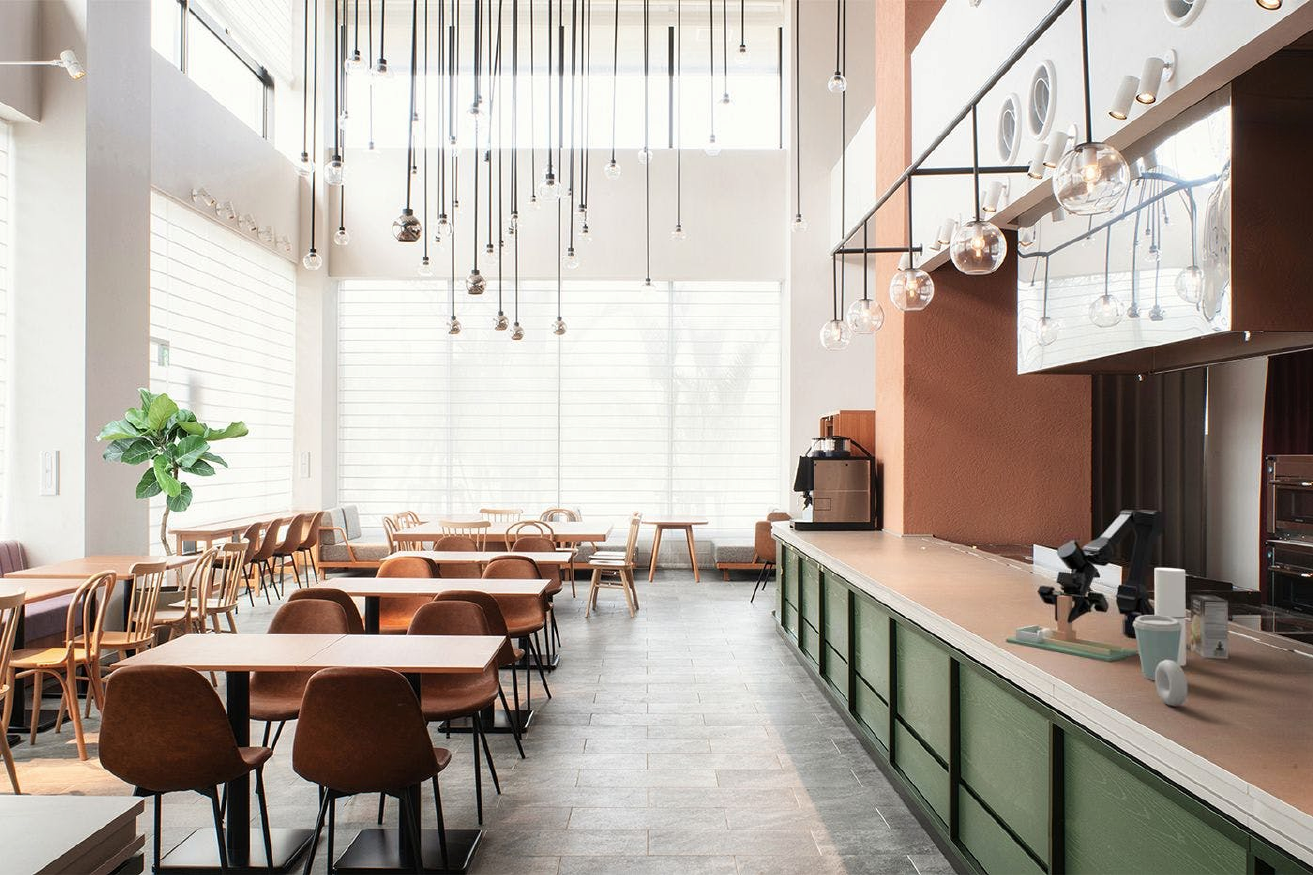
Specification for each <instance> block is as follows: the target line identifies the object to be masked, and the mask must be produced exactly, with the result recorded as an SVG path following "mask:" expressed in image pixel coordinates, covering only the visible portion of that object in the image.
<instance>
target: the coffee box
mask: <svg viewBox="0 0 1313 875" xmlns="http://www.w3.org/2000/svg"><path fill="white" fill-rule="evenodd" d="M1228 606H1229V601H1228V600H1226V599H1224V598H1221V597H1218V596H1217V595H1207V594H1205V595H1202V594H1190V650H1191V651H1192V652H1193V653H1195V654H1197V655H1198V656H1201V657H1202V658H1204V659H1221V660H1222V659H1223V660H1228V659H1229V649H1228V648H1229V638H1228V637H1229V636H1228V635H1229V634H1228V633H1229V631H1228V630H1229V629H1228V628H1229V620H1228V618H1229V613H1228V612H1229V607H1228Z"/></svg>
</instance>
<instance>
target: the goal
mask: <svg viewBox="0 0 1313 875" xmlns="http://www.w3.org/2000/svg"><path fill="white" fill-rule="evenodd" d="M1042 629H1049V630H1051V631H1052V633H1053V637H1052V638H1054V631H1056V630H1057V626H1056V627H1055V629H1053V628H1048V627H1043V626H1039V625H1038V624H1034V625H1027V626H1022V627H1018V628H1015V637H1016V639H1018V640H1023V641H1029V642H1034V643H1038V644H1043V631H1041V630H1042Z"/></svg>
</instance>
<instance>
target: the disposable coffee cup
mask: <svg viewBox="0 0 1313 875" xmlns="http://www.w3.org/2000/svg"><path fill="white" fill-rule="evenodd" d="M1133 626H1134V629H1135V634H1136V637H1135V638H1136V644H1137V647H1138V648H1137V649H1138V654H1139V658H1140V663H1141V664H1140V665H1141V669H1142V674H1143V675H1144V677H1145V678H1146V679H1147V680H1151V681H1155V672H1156V668H1157V666H1158V664H1159V663H1160V662H1162V661H1164V660H1171V661H1174V662H1176V663H1177V658H1178V650H1179V643H1180V635H1181V630H1182V625H1180V624H1179V621H1178V620H1177V619H1175V618H1171V617H1168V616H1159V615H1144V616H1138V617H1137V618H1135V621H1134V622H1133Z"/></svg>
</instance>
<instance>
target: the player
mask: <svg viewBox="0 0 1313 875" xmlns="http://www.w3.org/2000/svg"><path fill="white" fill-rule="evenodd" d="M1072 608H1073V602H1072V597H1070V596H1063V595H1060V596H1057V621H1056V622H1057V623H1056V625H1057V626H1056V627H1057V630H1056V629H1055V630H1056V631H1054V639H1055V640H1060V641H1066V642H1071V643H1076V638H1077V630H1074V629H1073V621H1072V622H1071V623H1068V621H1067V620H1068V617H1069V615H1070V612H1071V610H1072Z"/></svg>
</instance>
